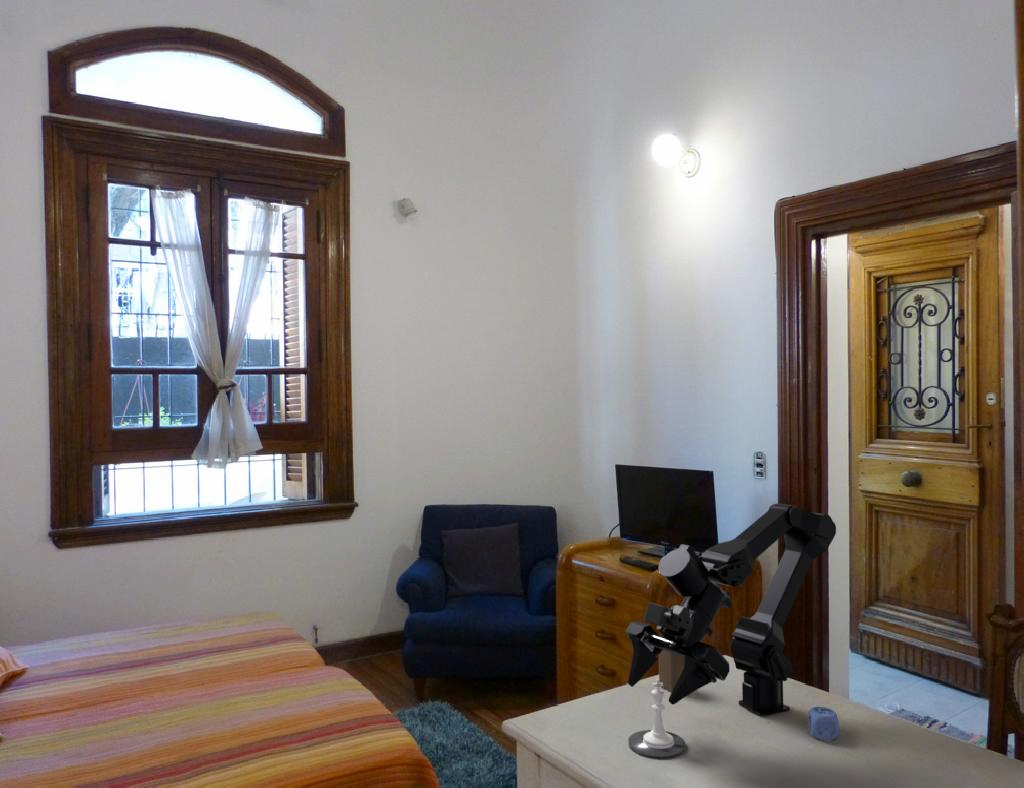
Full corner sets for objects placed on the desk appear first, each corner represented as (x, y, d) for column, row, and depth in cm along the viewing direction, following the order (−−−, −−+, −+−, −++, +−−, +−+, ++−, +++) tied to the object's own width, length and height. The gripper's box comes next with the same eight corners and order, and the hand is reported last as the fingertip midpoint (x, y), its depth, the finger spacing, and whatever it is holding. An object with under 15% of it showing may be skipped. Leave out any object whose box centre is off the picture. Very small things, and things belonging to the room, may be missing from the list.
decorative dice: (808, 729, 128) (807, 705, 128) (833, 731, 127) (833, 707, 127) (813, 740, 124) (812, 715, 124) (839, 741, 123) (838, 717, 123)
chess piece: (679, 747, 120) (678, 683, 120) (649, 750, 119) (648, 686, 119) (666, 734, 125) (665, 673, 125) (638, 737, 124) (637, 675, 124)
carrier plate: (664, 729, 128) (664, 726, 128) (697, 751, 120) (696, 748, 120) (618, 739, 125) (617, 735, 125) (648, 762, 116) (648, 758, 116)
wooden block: (672, 693, 145) (671, 650, 145) (658, 686, 148) (657, 645, 148) (688, 688, 147) (687, 647, 147) (674, 682, 150) (673, 641, 150)
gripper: (632, 574, 133) (584, 649, 126) (715, 595, 117) (665, 682, 111) (665, 612, 137) (620, 687, 131) (750, 637, 121) (703, 724, 115)
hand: (649, 693), depth 122 cm, fingers open, 9 cm apart
